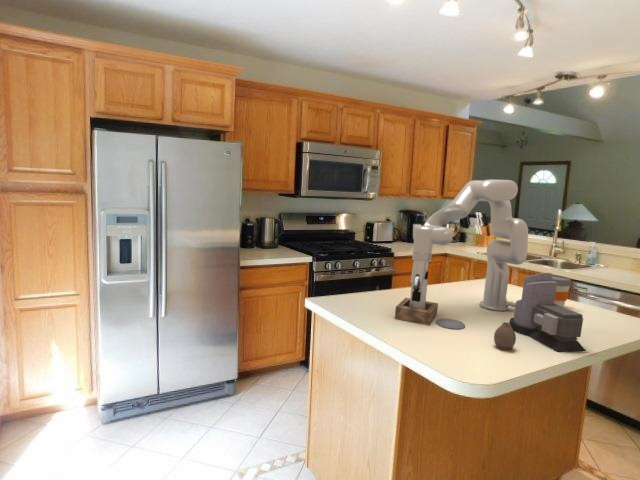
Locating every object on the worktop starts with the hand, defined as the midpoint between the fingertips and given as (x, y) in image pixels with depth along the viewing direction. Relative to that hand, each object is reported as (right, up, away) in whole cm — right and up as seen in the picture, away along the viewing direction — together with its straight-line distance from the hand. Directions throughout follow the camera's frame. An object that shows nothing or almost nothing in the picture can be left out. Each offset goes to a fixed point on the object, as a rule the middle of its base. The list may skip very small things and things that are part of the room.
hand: (417, 298), depth 170 cm
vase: (+23, -13, -28) cm, 38 cm away
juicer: (+44, -13, -13) cm, 48 cm away
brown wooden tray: (0, -8, +1) cm, 8 cm away
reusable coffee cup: (+70, -8, +26) cm, 75 cm away
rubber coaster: (+11, -9, -7) cm, 16 cm away
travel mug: (0, -8, +1) cm, 8 cm away
